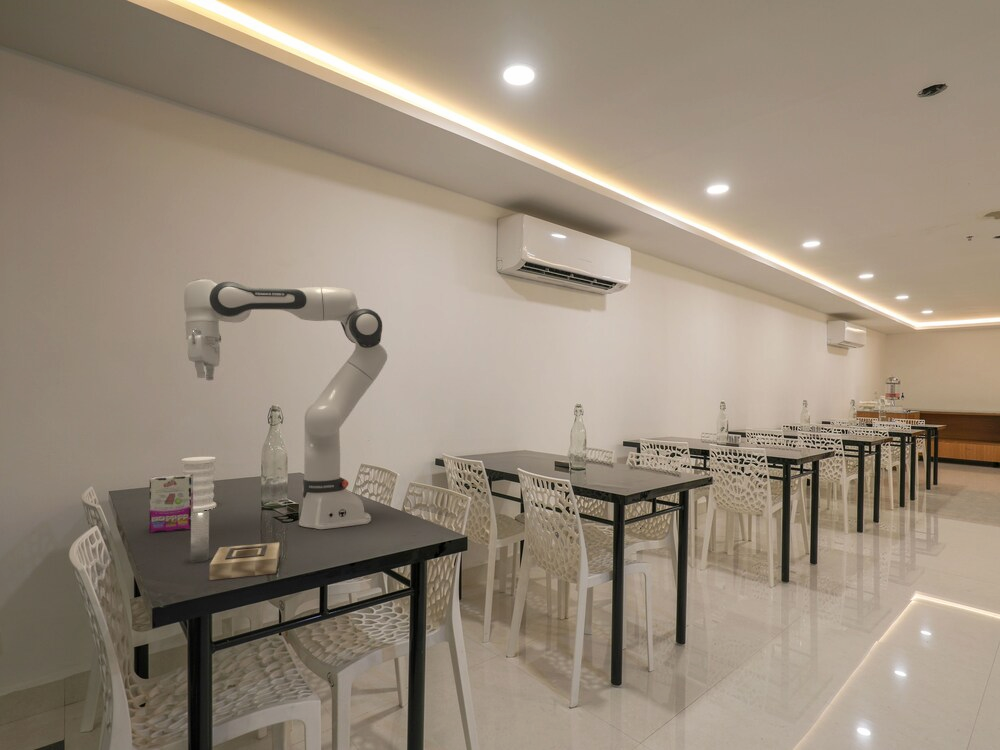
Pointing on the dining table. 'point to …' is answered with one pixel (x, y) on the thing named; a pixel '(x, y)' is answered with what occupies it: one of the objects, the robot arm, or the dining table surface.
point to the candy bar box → (171, 503)
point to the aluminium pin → (199, 536)
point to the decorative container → (201, 481)
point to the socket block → (245, 561)
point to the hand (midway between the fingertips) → (205, 379)
